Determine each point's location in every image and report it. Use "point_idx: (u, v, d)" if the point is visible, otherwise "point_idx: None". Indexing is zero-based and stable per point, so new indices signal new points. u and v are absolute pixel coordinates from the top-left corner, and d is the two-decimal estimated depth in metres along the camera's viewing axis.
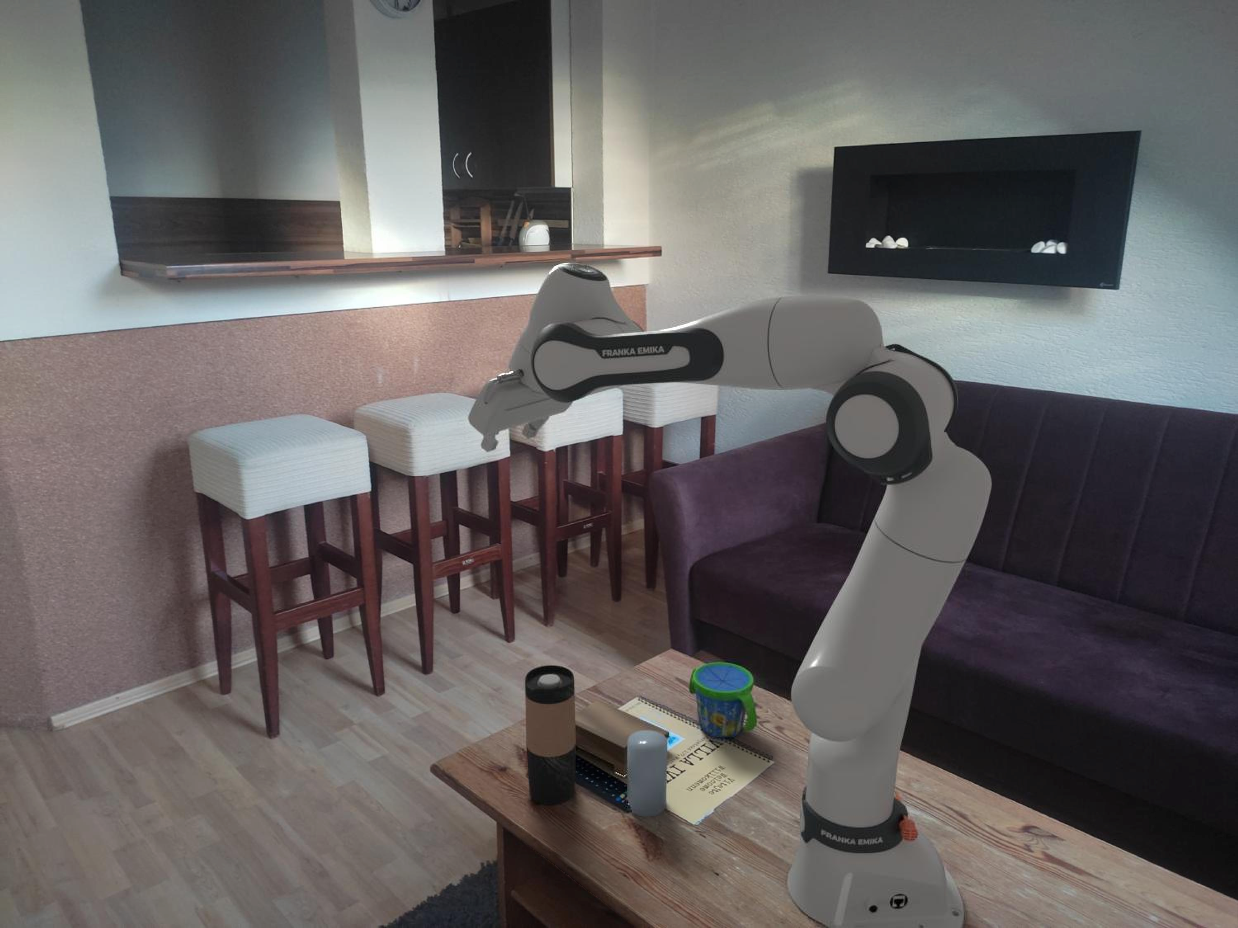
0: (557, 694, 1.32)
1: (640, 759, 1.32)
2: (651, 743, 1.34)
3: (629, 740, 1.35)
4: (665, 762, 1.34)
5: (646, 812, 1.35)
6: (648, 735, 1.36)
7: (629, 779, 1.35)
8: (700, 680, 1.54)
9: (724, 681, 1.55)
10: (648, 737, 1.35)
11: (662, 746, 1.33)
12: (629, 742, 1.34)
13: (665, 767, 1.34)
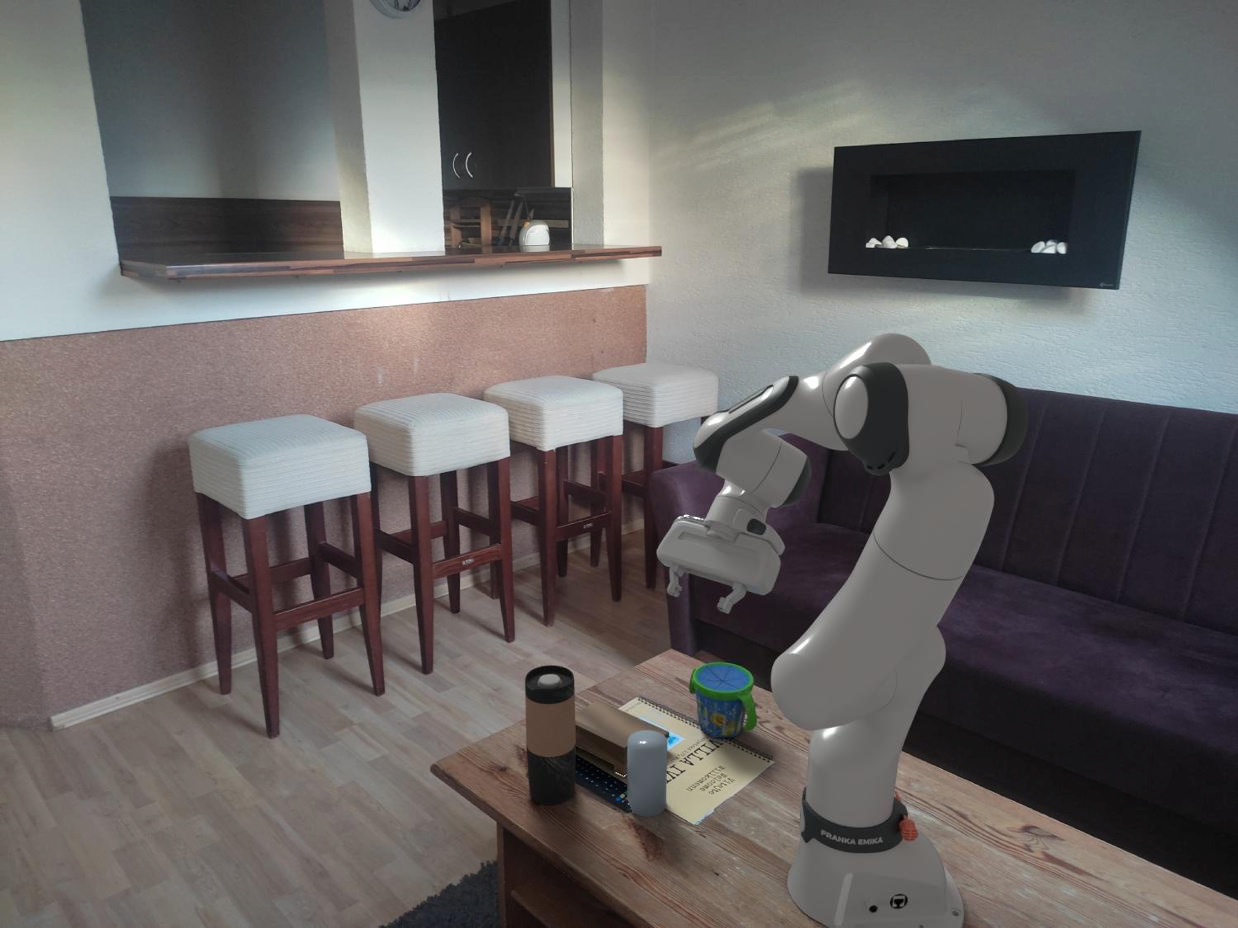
0: (557, 694, 1.32)
1: (640, 759, 1.32)
2: (651, 743, 1.34)
3: (629, 740, 1.35)
4: (665, 762, 1.34)
5: (646, 812, 1.35)
6: (648, 735, 1.36)
7: (629, 779, 1.35)
8: (700, 680, 1.54)
9: (724, 681, 1.55)
10: (648, 737, 1.35)
11: (662, 746, 1.33)
12: (629, 742, 1.34)
13: (665, 767, 1.34)
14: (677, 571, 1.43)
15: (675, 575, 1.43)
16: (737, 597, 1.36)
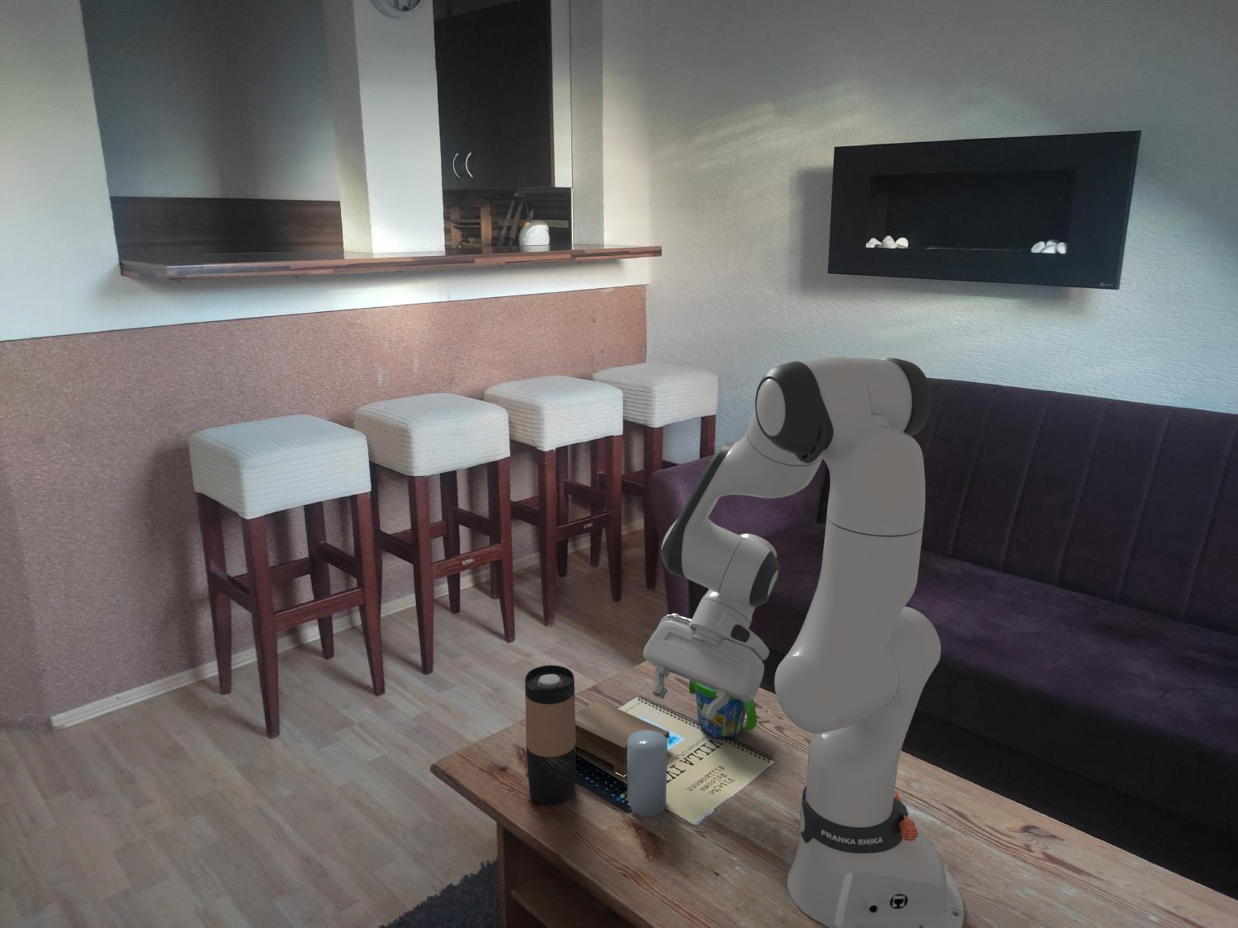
0: (557, 694, 1.32)
1: (640, 759, 1.32)
2: (651, 743, 1.34)
3: (629, 740, 1.35)
4: (665, 762, 1.34)
5: (646, 812, 1.35)
6: (648, 735, 1.36)
7: (629, 779, 1.35)
8: None
9: None
10: (648, 737, 1.35)
11: (662, 746, 1.33)
12: (629, 742, 1.34)
13: (665, 767, 1.34)
14: (663, 673, 1.44)
15: (661, 676, 1.45)
16: (720, 704, 1.38)
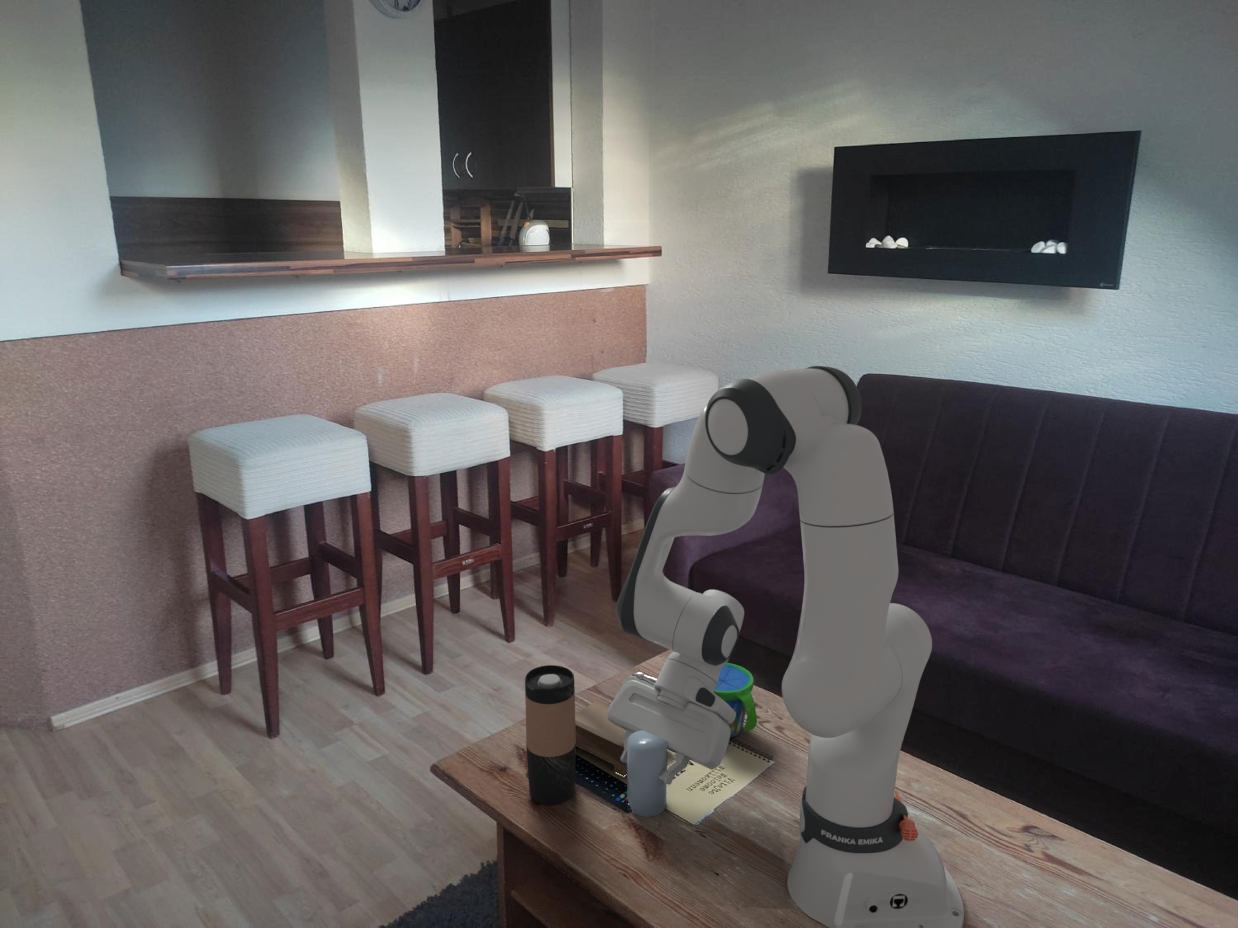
0: (557, 694, 1.32)
1: (640, 759, 1.32)
2: (651, 743, 1.34)
3: (629, 740, 1.35)
4: (665, 762, 1.34)
5: (646, 812, 1.35)
6: (648, 735, 1.36)
7: (629, 779, 1.35)
8: None
9: (724, 681, 1.55)
10: (648, 737, 1.35)
11: (662, 746, 1.33)
12: (629, 742, 1.34)
13: (665, 767, 1.34)
14: None
15: None
16: (679, 768, 1.33)
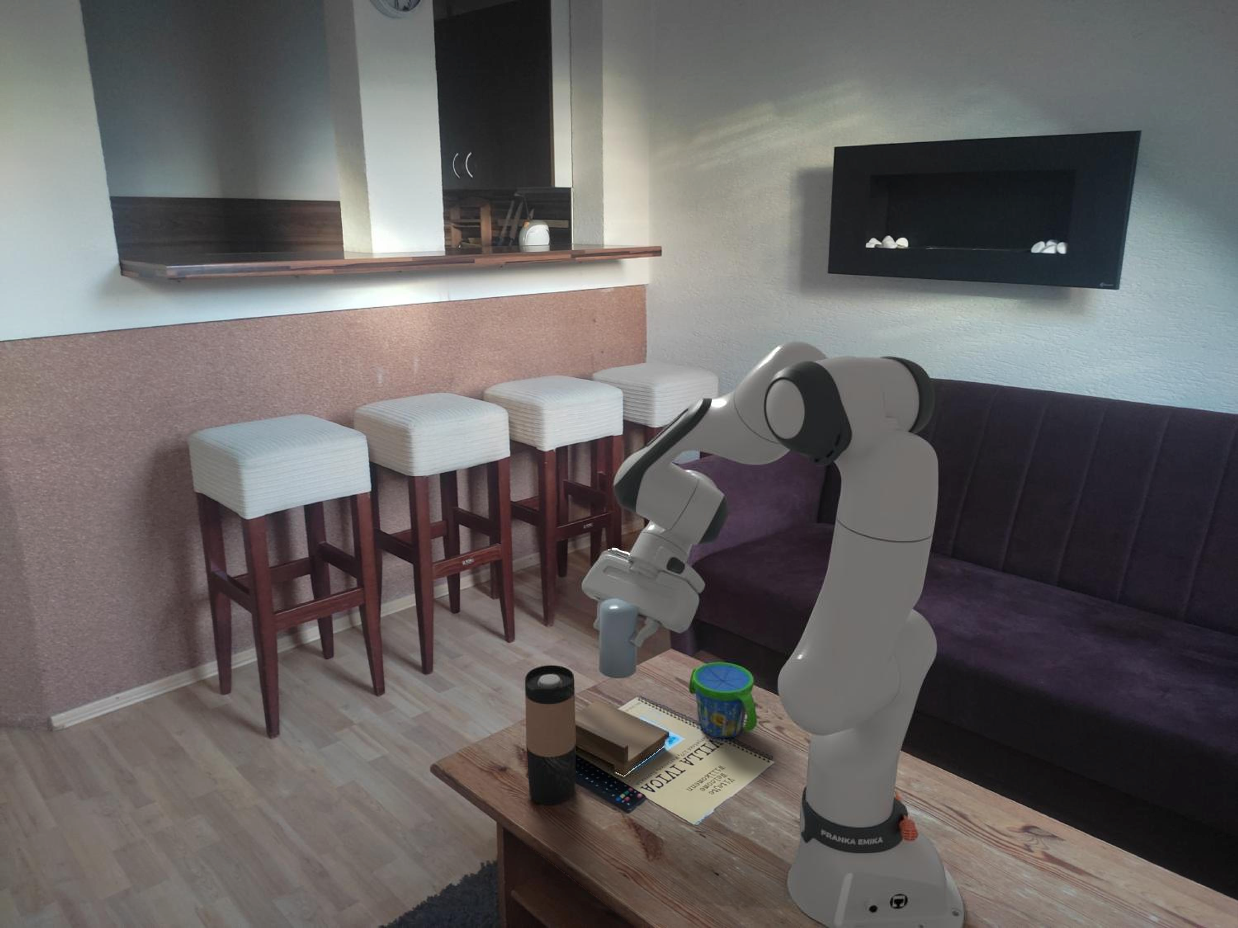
0: (557, 694, 1.32)
1: (612, 622, 1.38)
2: (623, 608, 1.40)
3: (602, 605, 1.41)
4: (636, 626, 1.40)
5: (616, 674, 1.41)
6: (620, 602, 1.42)
7: (601, 642, 1.41)
8: (700, 680, 1.54)
9: (724, 681, 1.55)
10: (620, 603, 1.41)
11: (633, 610, 1.39)
12: (602, 607, 1.40)
13: (635, 631, 1.40)
14: None
15: None
16: (649, 632, 1.39)
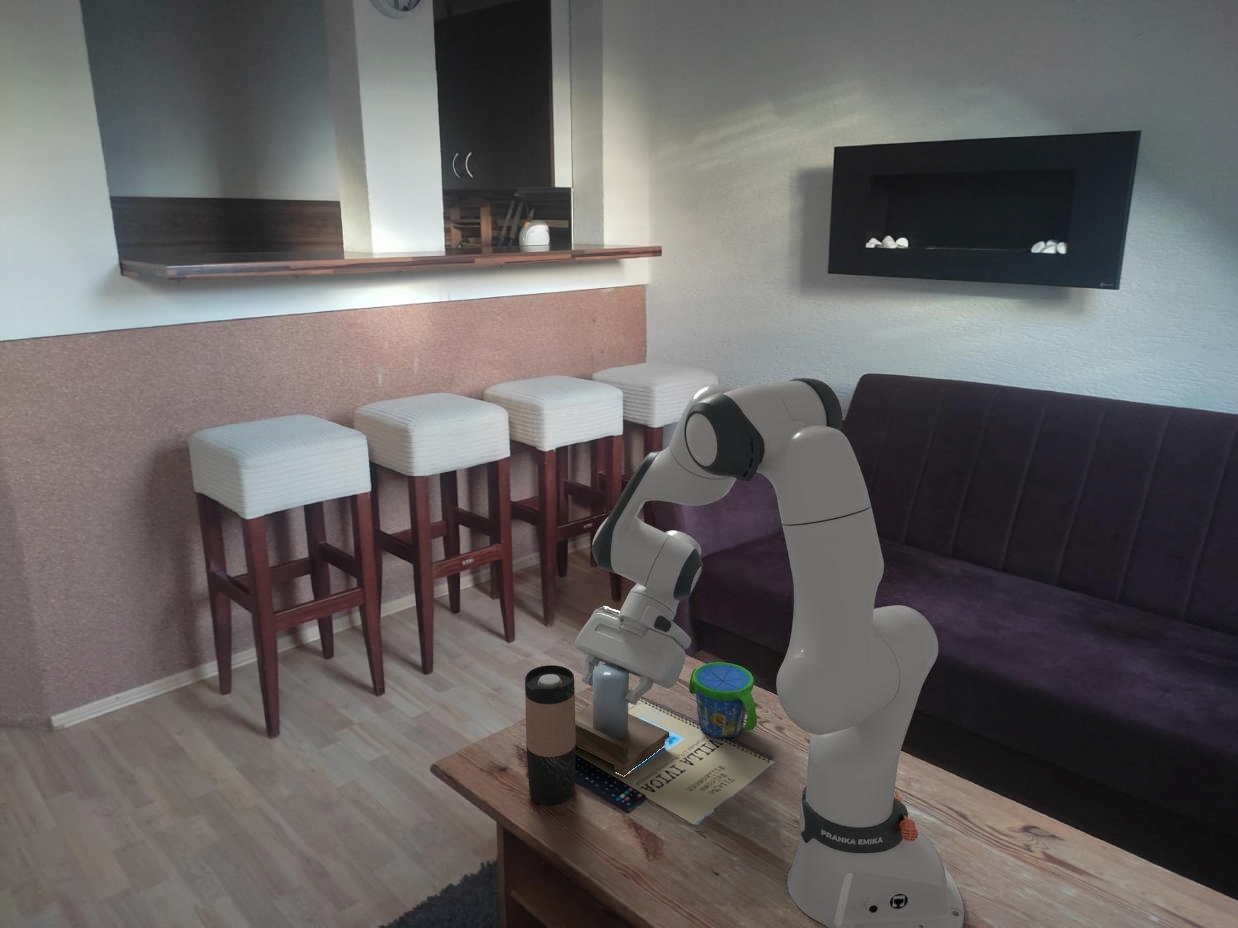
0: (557, 694, 1.32)
1: (604, 687, 1.46)
2: (614, 673, 1.48)
3: (594, 671, 1.49)
4: (626, 691, 1.48)
5: None
6: (612, 667, 1.50)
7: (594, 706, 1.49)
8: (700, 680, 1.54)
9: (724, 681, 1.55)
10: (611, 669, 1.49)
11: (623, 676, 1.47)
12: (594, 672, 1.48)
13: None
14: (592, 661, 1.53)
15: (591, 665, 1.53)
16: (643, 690, 1.46)
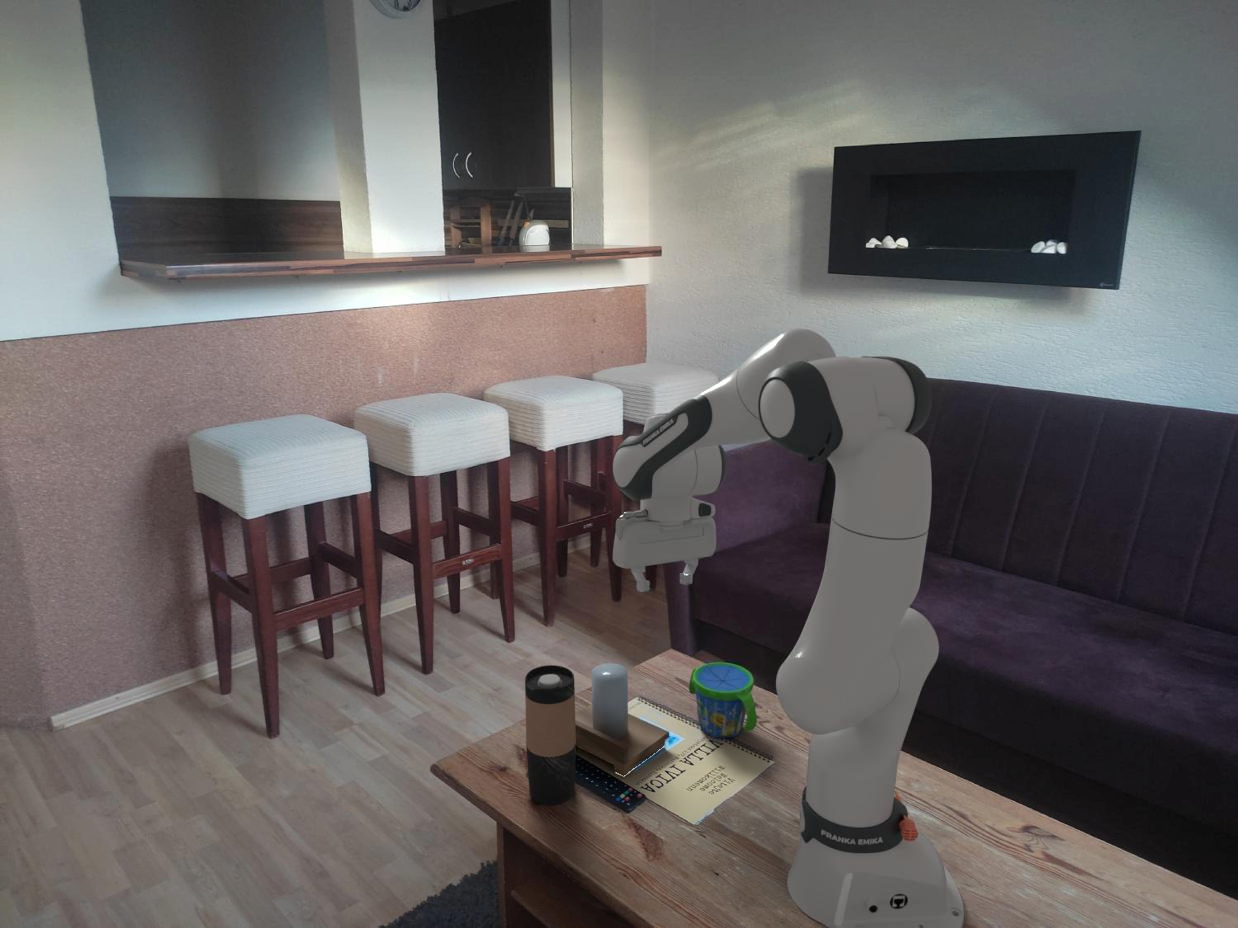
0: (557, 694, 1.32)
1: (603, 688, 1.46)
2: (613, 673, 1.48)
3: (593, 671, 1.49)
4: (626, 690, 1.48)
5: None
6: (610, 667, 1.50)
7: (593, 706, 1.49)
8: (700, 680, 1.54)
9: (724, 681, 1.55)
10: (610, 669, 1.49)
11: (622, 676, 1.47)
12: (593, 673, 1.48)
13: (626, 695, 1.48)
14: None
15: None
16: None
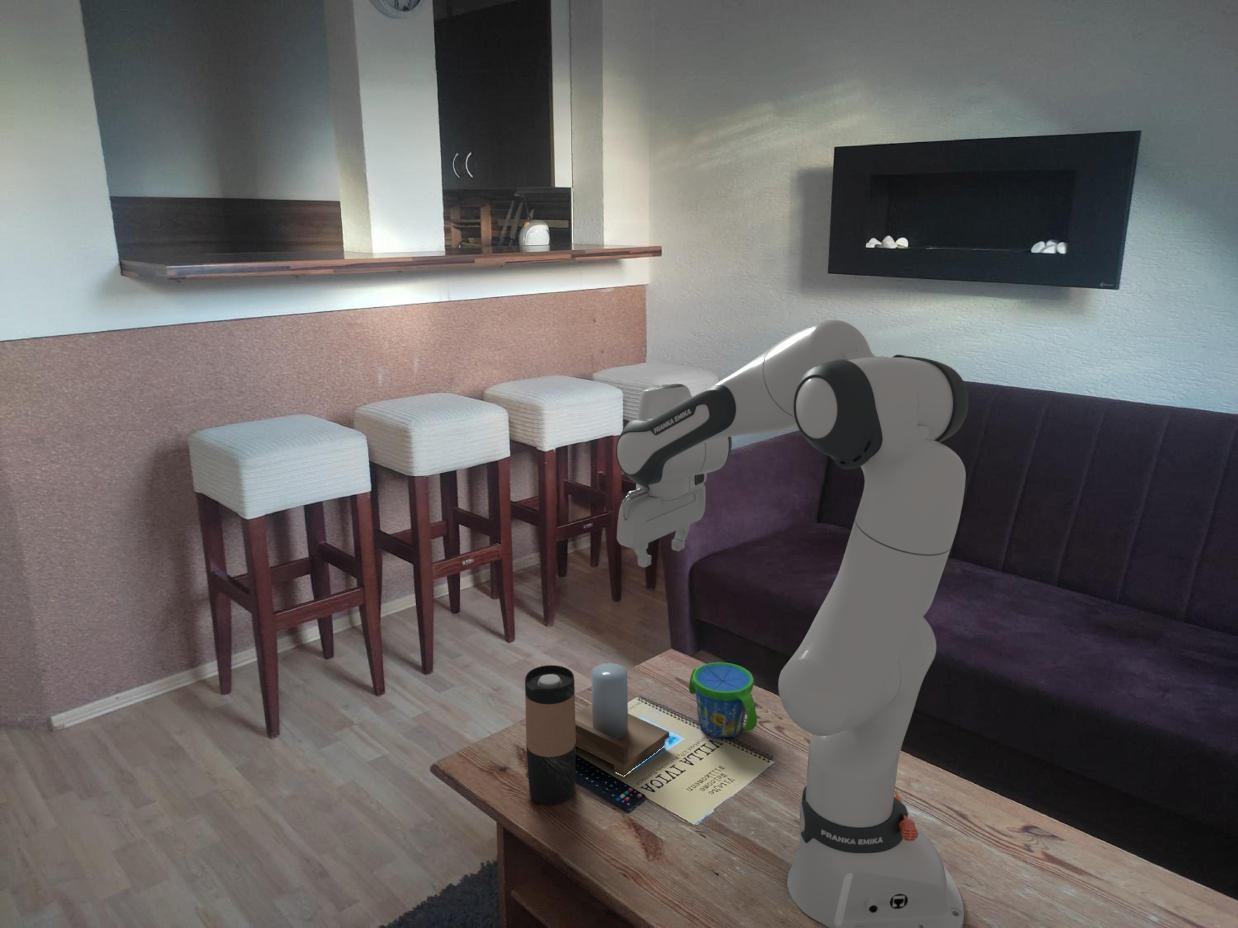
0: (557, 694, 1.32)
1: (603, 688, 1.46)
2: (613, 673, 1.48)
3: (593, 671, 1.49)
4: (625, 690, 1.48)
5: None
6: (610, 667, 1.50)
7: (593, 706, 1.49)
8: (700, 680, 1.54)
9: (724, 681, 1.55)
10: (610, 669, 1.49)
11: (622, 675, 1.47)
12: (593, 673, 1.48)
13: (626, 695, 1.48)
14: None
15: None
16: None
